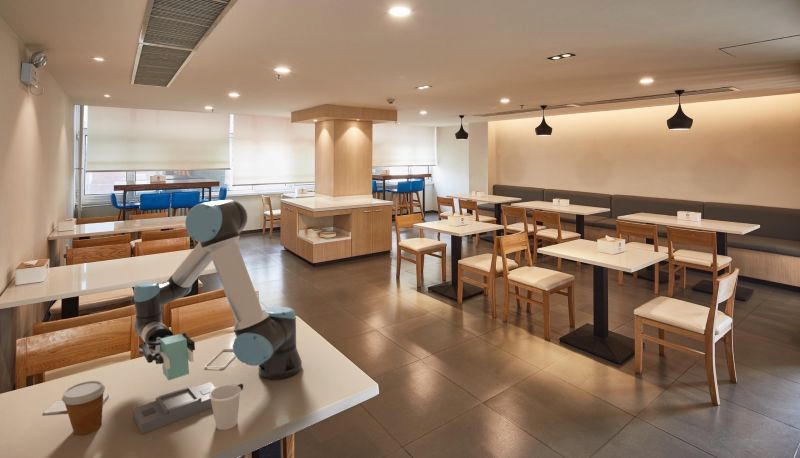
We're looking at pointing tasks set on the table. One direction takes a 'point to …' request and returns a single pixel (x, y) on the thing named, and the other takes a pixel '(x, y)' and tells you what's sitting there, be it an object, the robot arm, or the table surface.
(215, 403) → the dixie cup
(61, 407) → the smartphone
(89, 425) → the disposable coffee cup
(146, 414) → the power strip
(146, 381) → the table surface
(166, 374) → the teal tall block
